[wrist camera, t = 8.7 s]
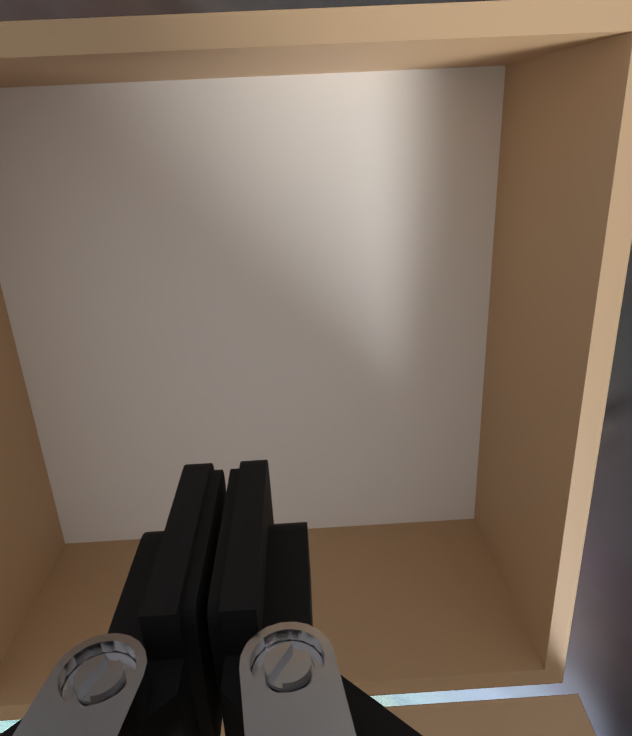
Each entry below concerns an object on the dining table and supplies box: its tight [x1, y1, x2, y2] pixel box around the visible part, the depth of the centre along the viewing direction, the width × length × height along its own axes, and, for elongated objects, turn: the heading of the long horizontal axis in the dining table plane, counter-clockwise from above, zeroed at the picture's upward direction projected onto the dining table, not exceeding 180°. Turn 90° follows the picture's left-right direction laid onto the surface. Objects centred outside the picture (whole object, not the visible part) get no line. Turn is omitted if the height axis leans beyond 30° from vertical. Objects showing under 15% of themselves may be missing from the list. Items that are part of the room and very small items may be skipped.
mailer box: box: [0, 0, 632, 721], centre depth 18 cm, size 18×18×8 cm
